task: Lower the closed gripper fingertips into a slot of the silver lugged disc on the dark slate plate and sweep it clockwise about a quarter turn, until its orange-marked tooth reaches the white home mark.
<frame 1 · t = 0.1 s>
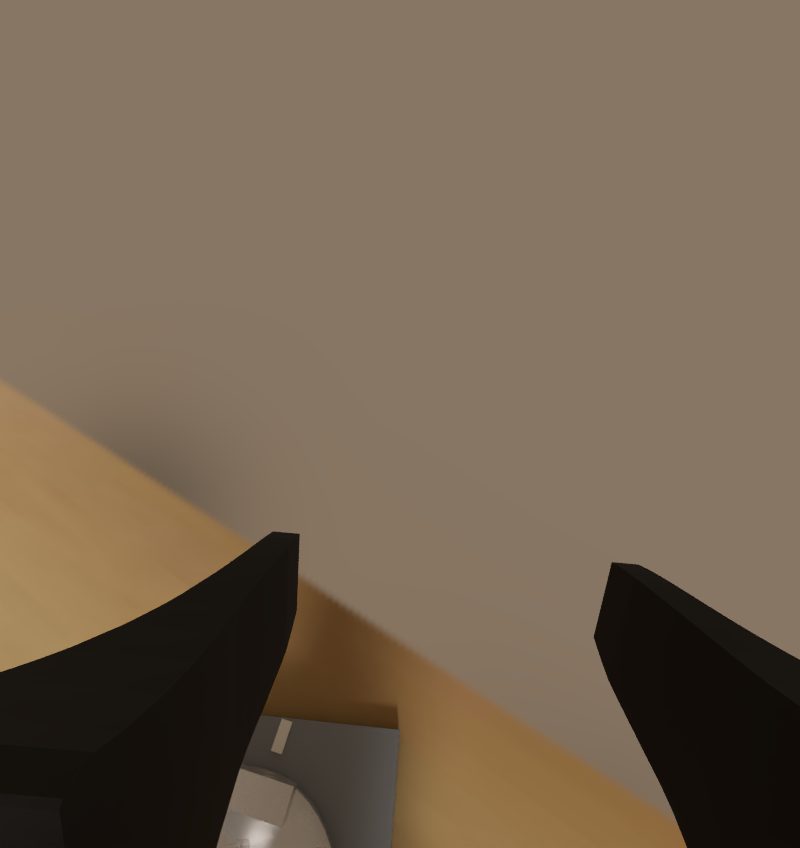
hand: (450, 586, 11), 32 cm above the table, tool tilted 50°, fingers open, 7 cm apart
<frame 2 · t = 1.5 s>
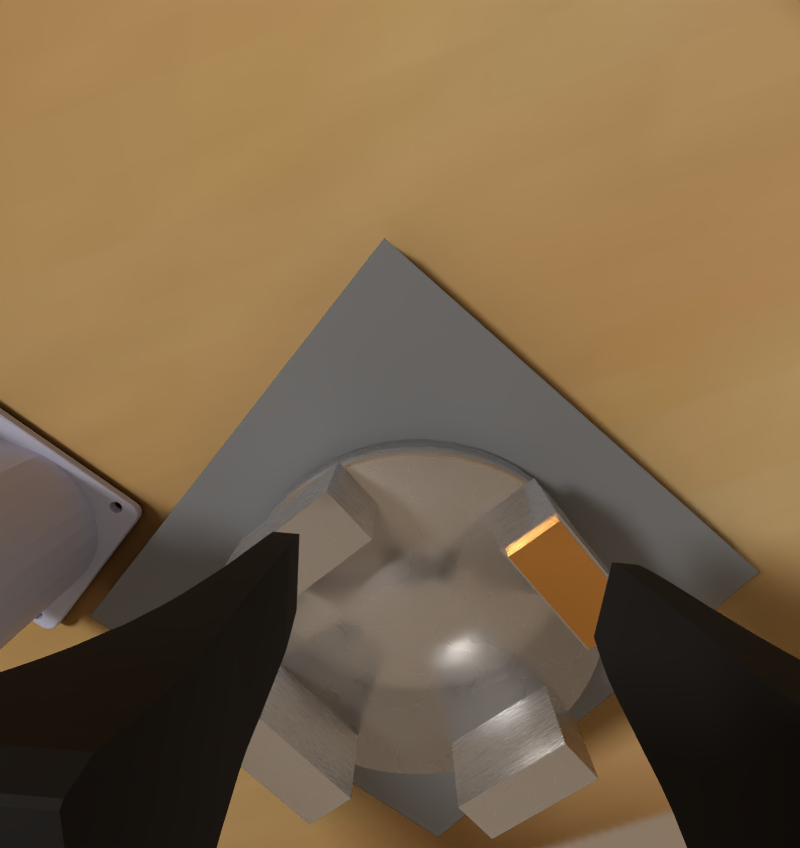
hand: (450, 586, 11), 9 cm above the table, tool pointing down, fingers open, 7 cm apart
silver lugged disc: (417, 639, 18), point 4 cm above the table, hinge at 0.0°
slate plate: (415, 574, 22), on the table
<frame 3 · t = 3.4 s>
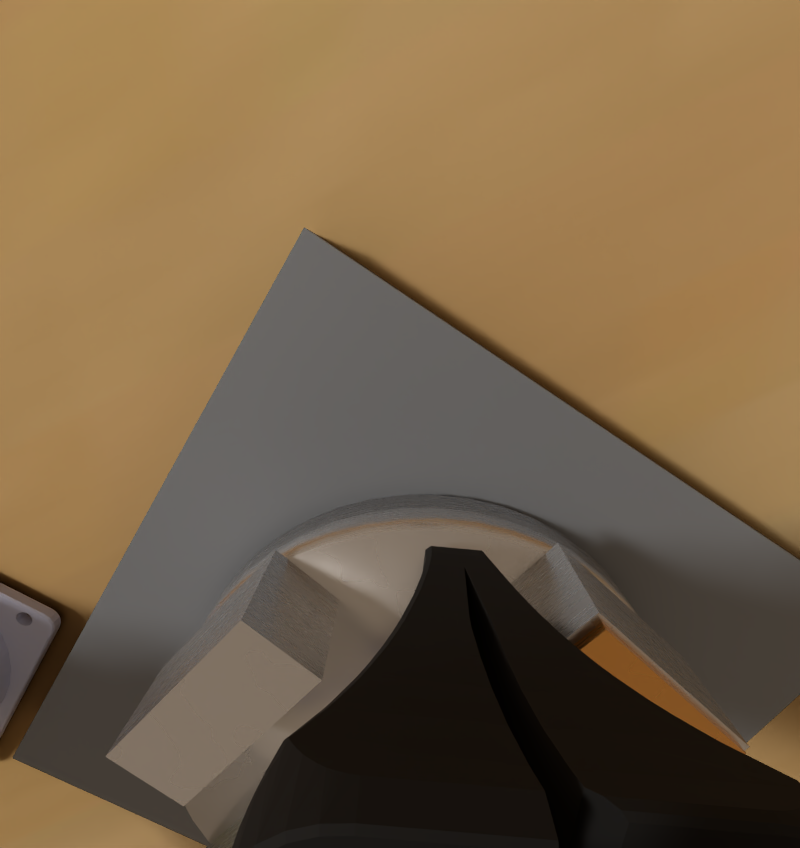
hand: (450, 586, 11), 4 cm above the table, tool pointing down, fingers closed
silver lugged disc: (422, 773, 13), point 4 cm above the table, hinge at 0.0°, touching gripper
slate plate: (419, 657, 17), on the table
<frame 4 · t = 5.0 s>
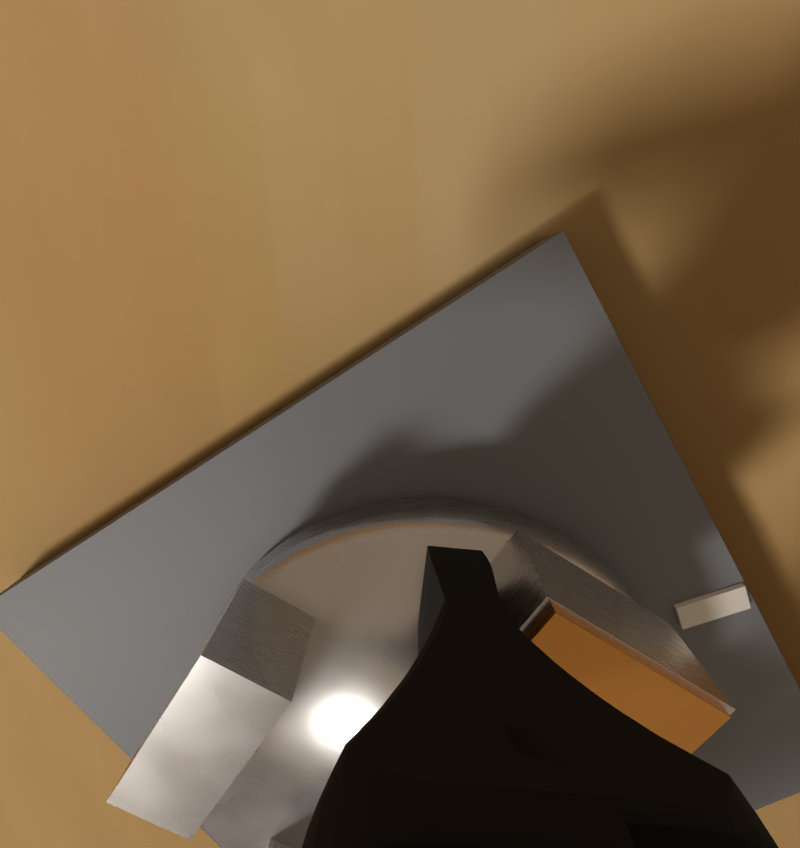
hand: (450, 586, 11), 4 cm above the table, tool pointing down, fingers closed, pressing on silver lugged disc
silver lugged disc: (431, 776, 13), point 4 cm above the table, hinge at -55.7°, touching gripper
slate plate: (426, 659, 17), on the table
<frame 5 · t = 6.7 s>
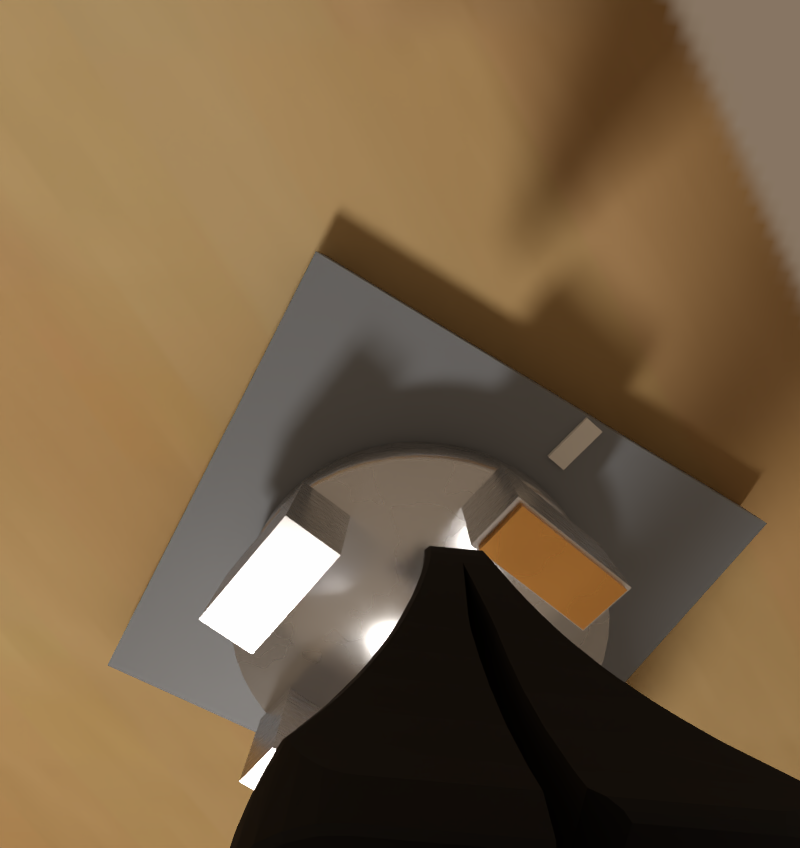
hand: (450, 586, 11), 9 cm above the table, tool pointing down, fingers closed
silver lugged disc: (418, 644, 18), point 4 cm above the table, hinge at -89.2°
slate plate: (416, 577, 21), on the table
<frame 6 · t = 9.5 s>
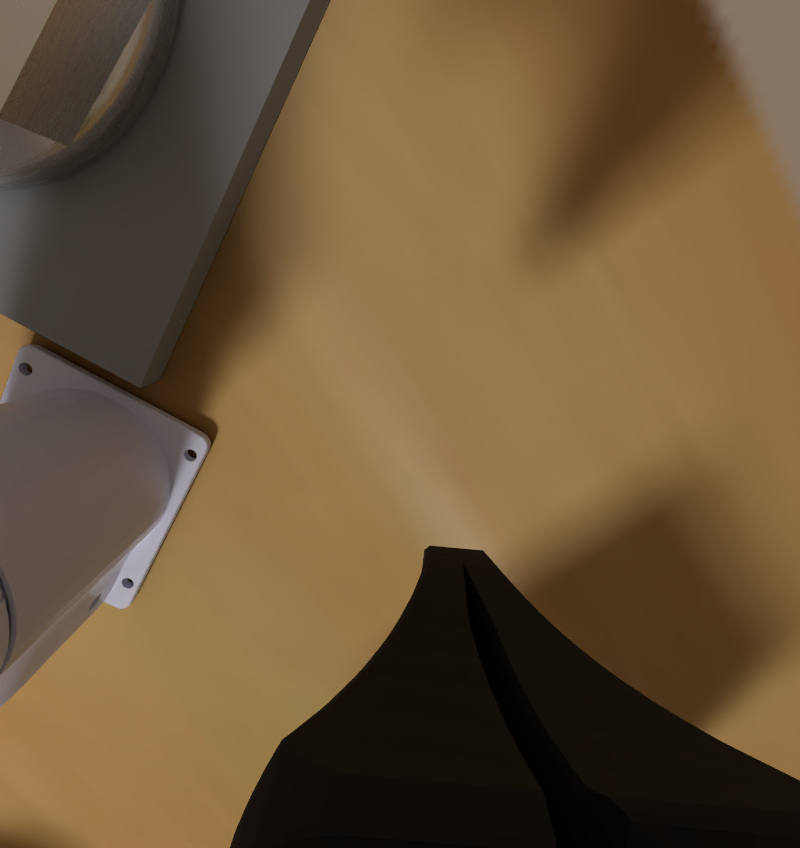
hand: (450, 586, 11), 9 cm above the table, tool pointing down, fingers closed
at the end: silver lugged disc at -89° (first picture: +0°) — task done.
